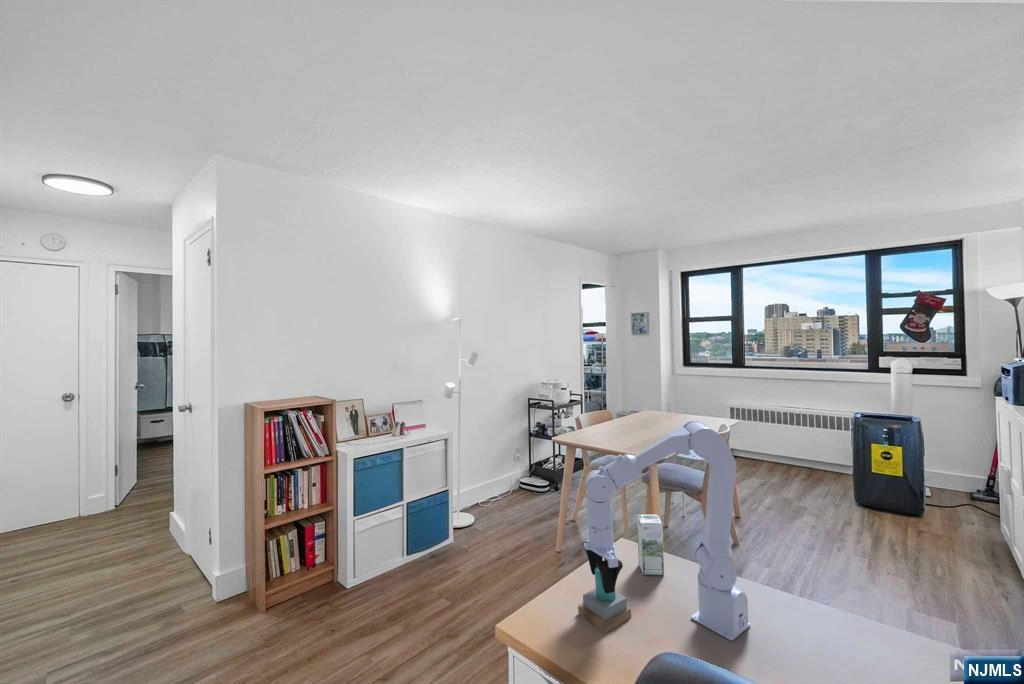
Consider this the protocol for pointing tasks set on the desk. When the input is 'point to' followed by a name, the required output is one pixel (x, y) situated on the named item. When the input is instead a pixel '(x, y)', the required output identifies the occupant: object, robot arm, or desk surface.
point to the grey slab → (604, 605)
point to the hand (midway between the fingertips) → (602, 582)
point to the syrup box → (650, 544)
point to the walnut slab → (603, 624)
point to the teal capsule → (600, 591)
